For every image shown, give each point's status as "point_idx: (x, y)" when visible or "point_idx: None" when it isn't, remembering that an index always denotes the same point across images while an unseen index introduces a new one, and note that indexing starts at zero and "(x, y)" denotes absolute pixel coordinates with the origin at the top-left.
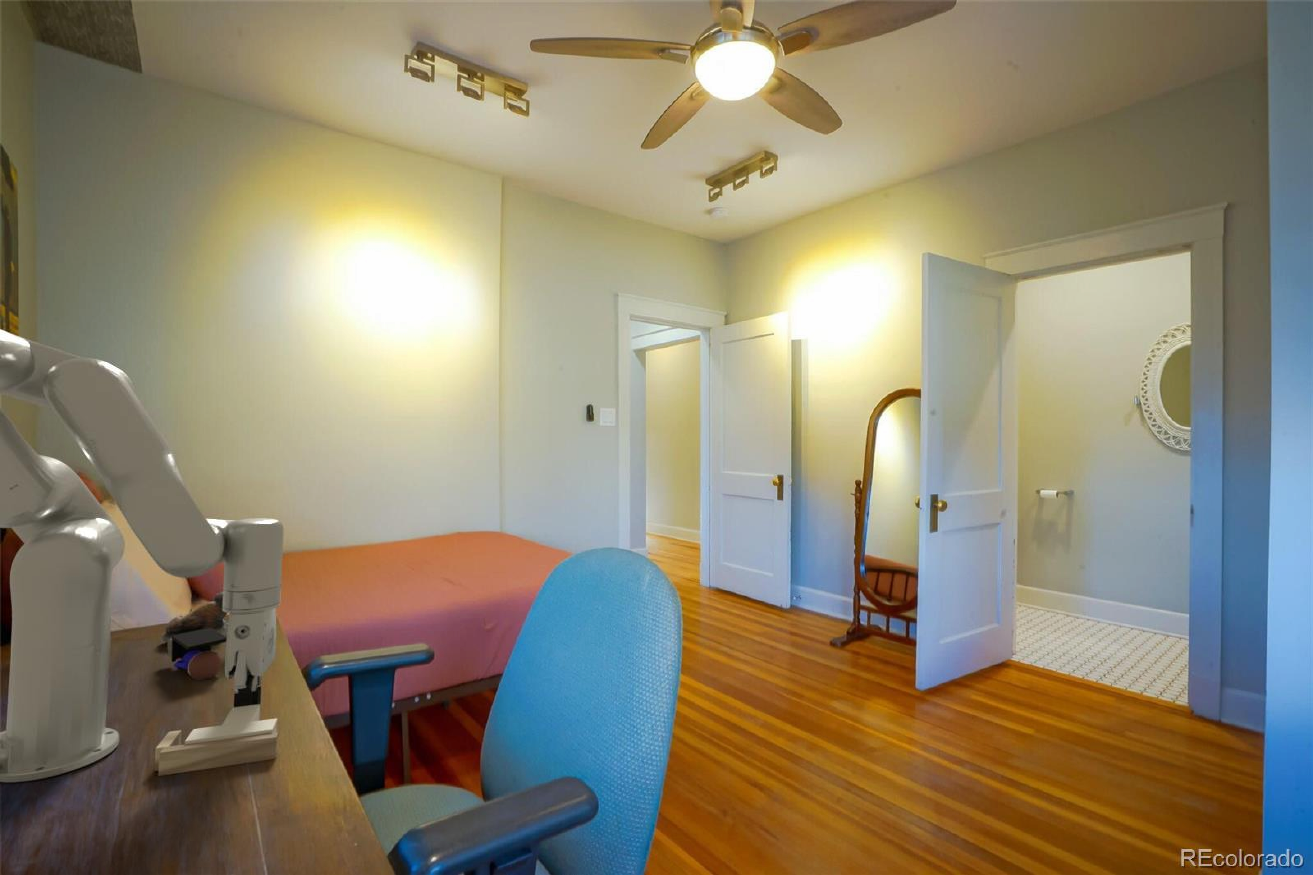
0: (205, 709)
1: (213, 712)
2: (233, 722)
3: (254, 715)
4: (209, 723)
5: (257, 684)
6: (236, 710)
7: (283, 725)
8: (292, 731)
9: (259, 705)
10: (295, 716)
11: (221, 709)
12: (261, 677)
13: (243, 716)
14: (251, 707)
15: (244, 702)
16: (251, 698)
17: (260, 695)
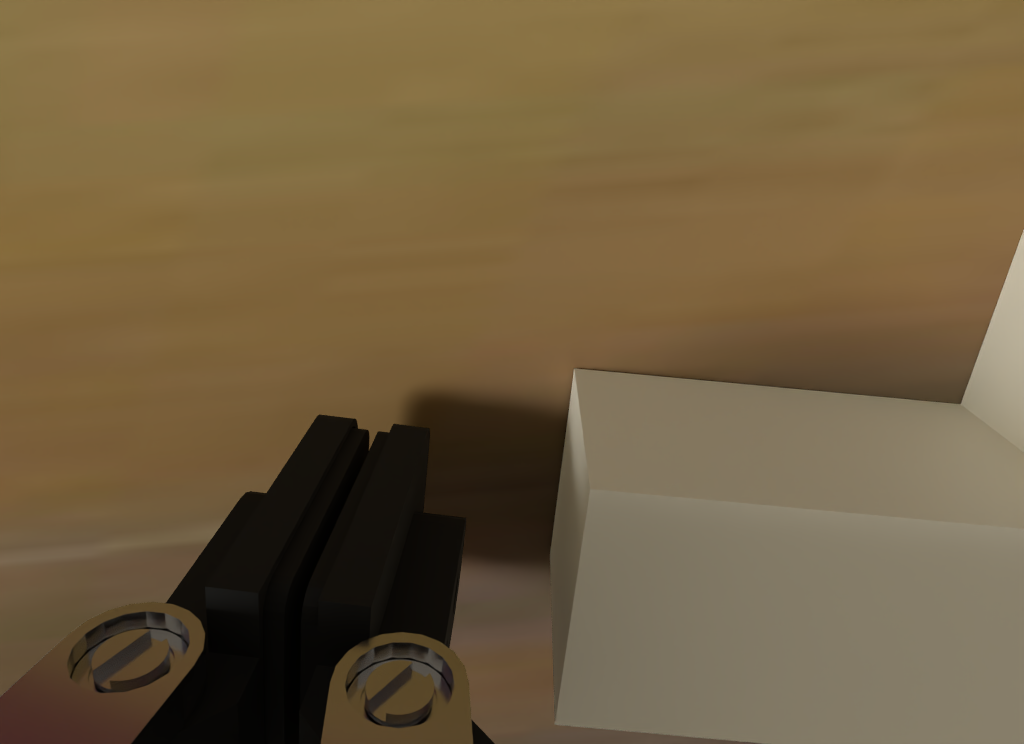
0: None
1: None
2: (1017, 687)
3: (938, 518)
4: None
5: (206, 662)
6: (667, 690)
7: (638, 149)
8: (857, 40)
9: (630, 493)
10: (438, 33)
11: None
12: (25, 680)
13: (897, 618)
14: (659, 569)
15: (447, 641)
16: (432, 608)
17: (277, 508)
